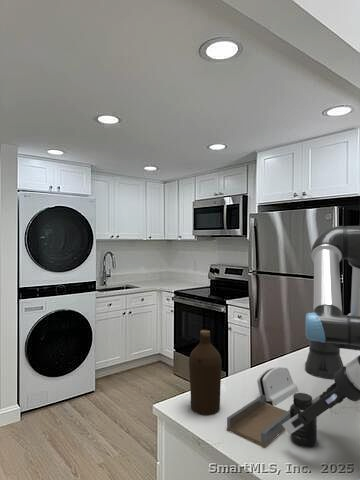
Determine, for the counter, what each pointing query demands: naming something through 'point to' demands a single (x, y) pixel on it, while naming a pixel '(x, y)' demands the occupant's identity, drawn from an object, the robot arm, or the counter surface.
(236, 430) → the floor track
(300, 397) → the supplement bottle
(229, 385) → the counter surface
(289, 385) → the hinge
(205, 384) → the olive oil
